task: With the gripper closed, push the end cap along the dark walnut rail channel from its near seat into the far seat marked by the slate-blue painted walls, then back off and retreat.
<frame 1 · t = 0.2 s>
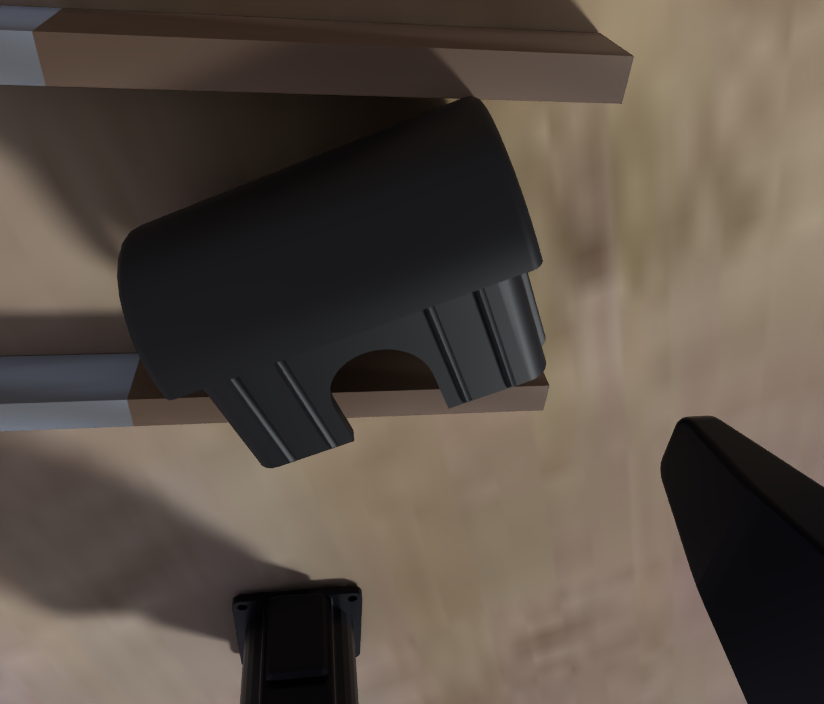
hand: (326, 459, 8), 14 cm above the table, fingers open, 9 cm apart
end cap: (342, 219, 22), on the table, touching rail
rail: (112, 227, 21), on the table
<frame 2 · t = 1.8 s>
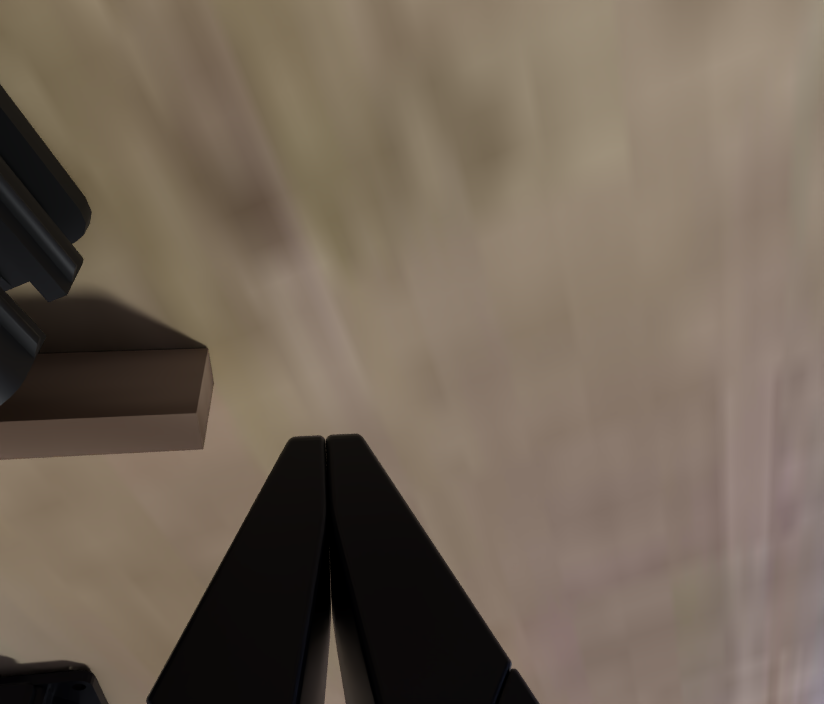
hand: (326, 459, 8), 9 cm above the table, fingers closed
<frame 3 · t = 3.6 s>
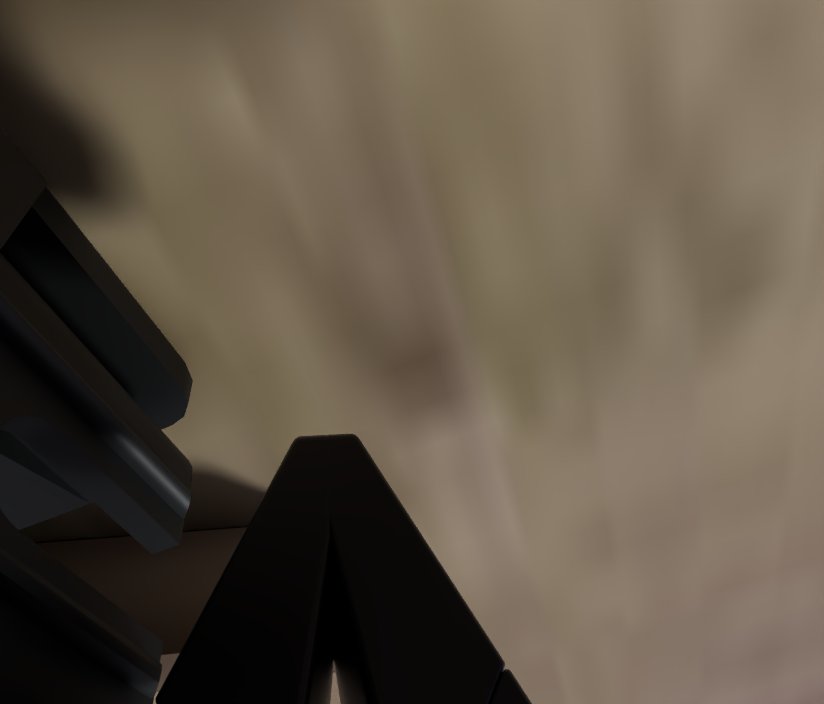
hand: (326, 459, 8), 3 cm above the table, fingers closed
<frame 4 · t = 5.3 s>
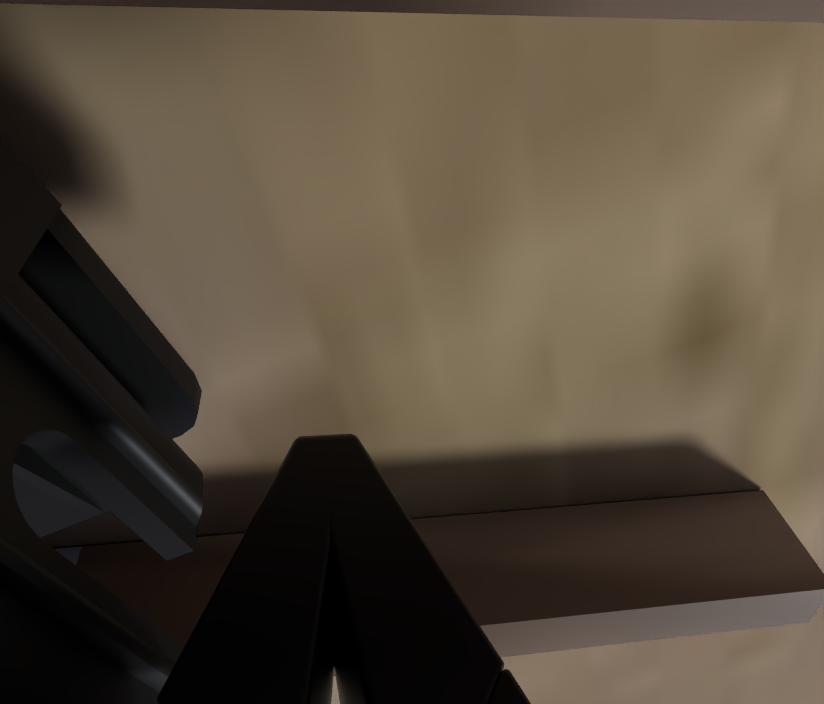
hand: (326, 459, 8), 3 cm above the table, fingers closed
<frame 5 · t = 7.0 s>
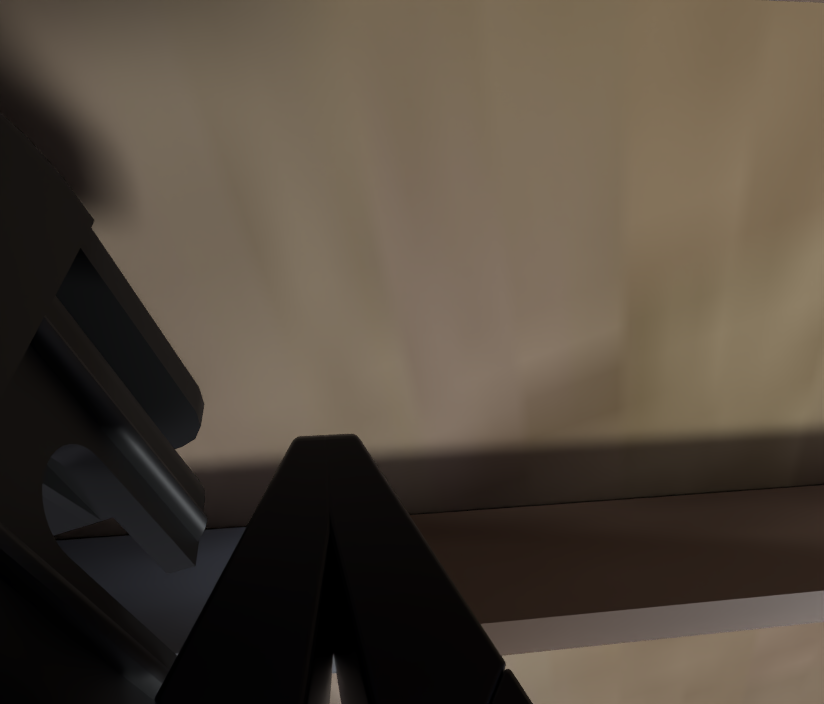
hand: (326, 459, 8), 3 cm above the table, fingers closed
rail: (342, 315, 10), on the table
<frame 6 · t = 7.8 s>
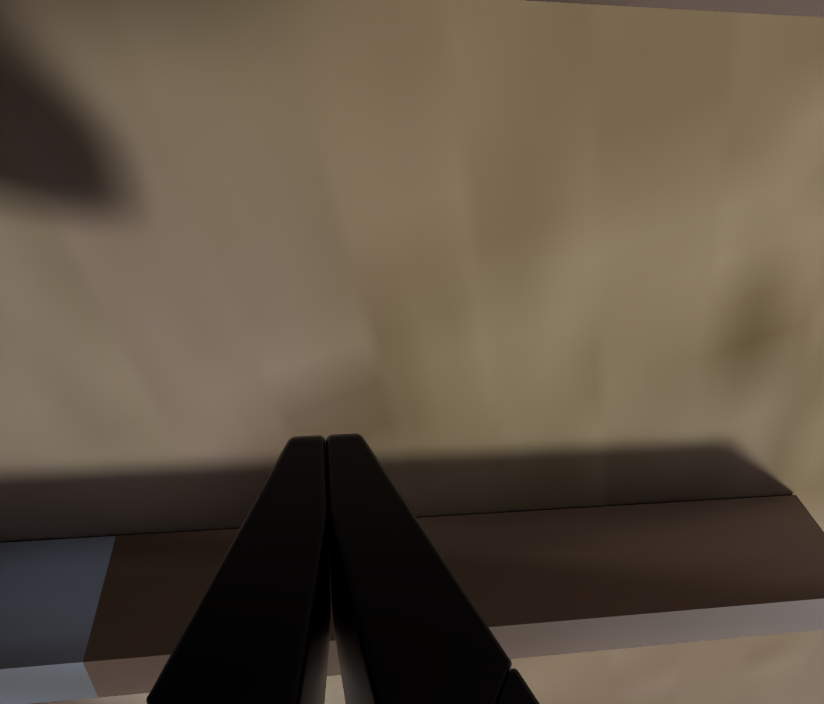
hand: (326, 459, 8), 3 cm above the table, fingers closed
rail: (48, 323, 10), on the table
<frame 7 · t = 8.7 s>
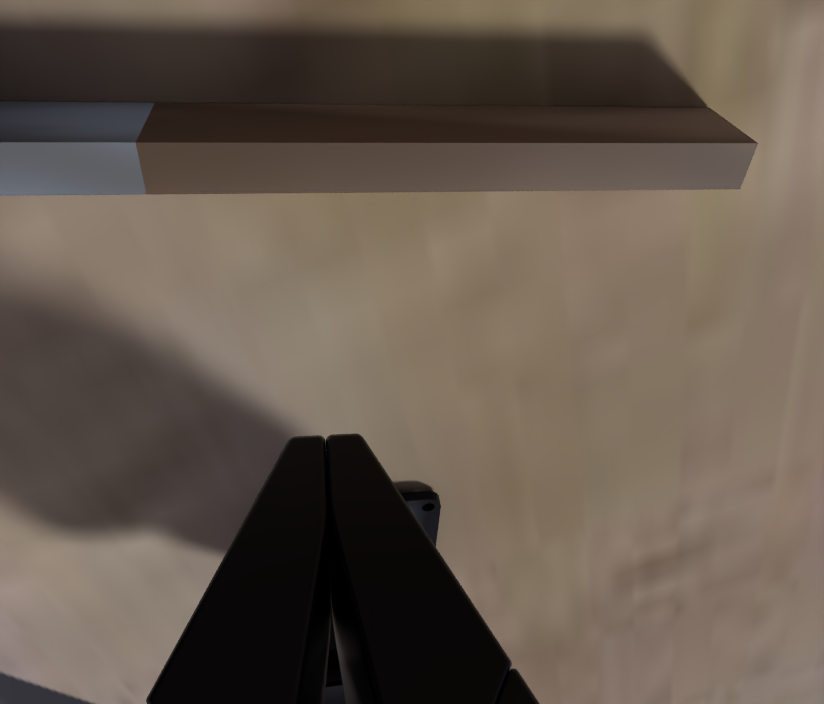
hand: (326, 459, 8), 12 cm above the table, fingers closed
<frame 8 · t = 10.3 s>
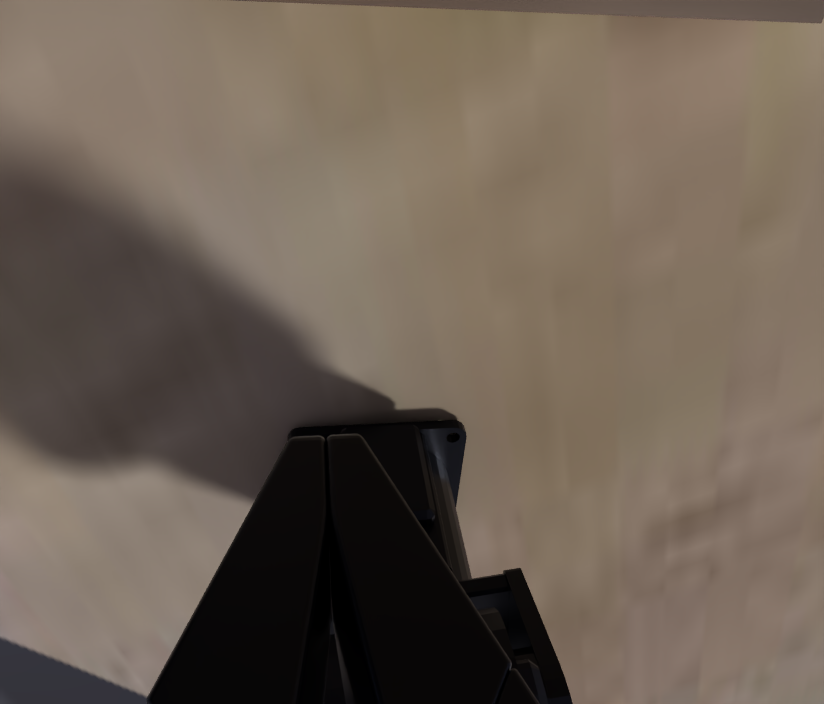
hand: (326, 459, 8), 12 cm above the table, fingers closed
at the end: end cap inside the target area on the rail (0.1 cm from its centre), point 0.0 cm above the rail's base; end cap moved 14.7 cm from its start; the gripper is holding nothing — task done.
